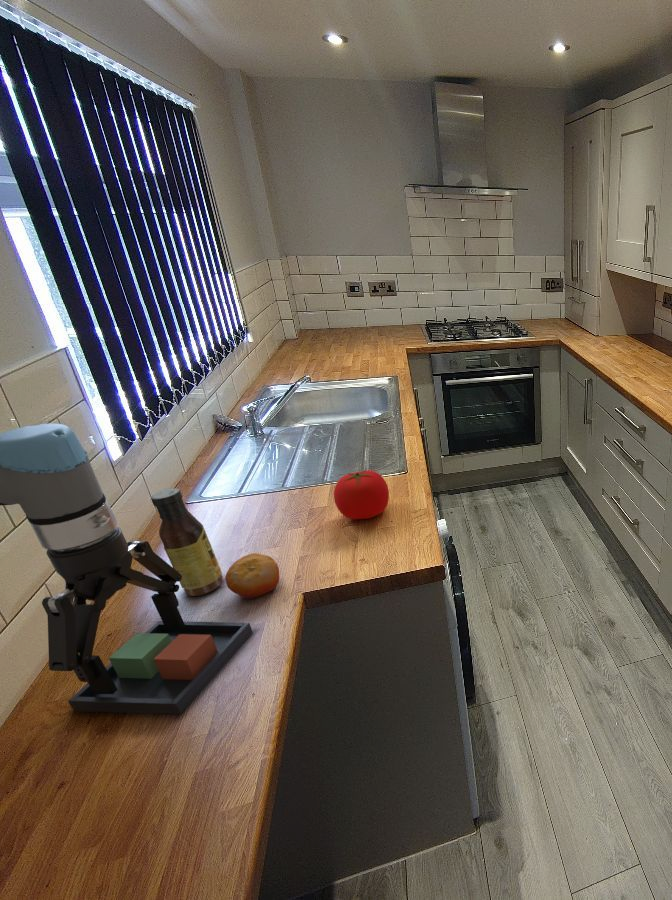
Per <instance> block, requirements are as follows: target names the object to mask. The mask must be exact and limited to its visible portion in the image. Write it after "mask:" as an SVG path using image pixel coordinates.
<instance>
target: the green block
mask: <svg viewBox="0 0 672 900" xmlns="http://www.w3.org/2000/svg"><path fill="white" fill-rule="evenodd" d="M171 642H172V641H171V639H170V636H169V634H154V633H145V632H137V633H136V634H135V635H134V636H132V637H131V638H130V639H129V640H127V641H126V642H125V643H124V644H123V645H121V647H120V648H118V649H117V650H116V651H115V652H114V653H113V654H112V655H110V656H109V657H108V660H109V662H110V663H111V664H112V665H113V667H114V669H115V671H116V673H117V675H118V676H119V678H143V679H152V678H153V677H154V676H155V675H156V674H157V673H158V672H159V670H158V668H157V666H156V664H155V662H154V660H153V659H154V658H155V657H156V656H157V655H158V654H159V653H160V652H161V651H163V650H164V649H165V648H166V647H167V646H168V645H169V644H170V643H171Z"/></svg>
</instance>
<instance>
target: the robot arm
mask: <svg viewBox="0 0 672 900" xmlns="http://www.w3.org/2000/svg"><path fill="white" fill-rule="evenodd" d="M14 505H19V506H20V507H21V509H22V511H23V512H24V514H25V517H26V519H27V521H28V522H29V524H30V526H31V528H32V530H33V532H34V535H35V536H36V538H37V539H38V541H39V544H40V546H41V547H42V548H43V549H45V550H46V556H47V557H48V559H49V561H50V563H51V564H52V566H53V569H54V571H55V572H56V573H57V574H58V575H59V576H60V577H61V578H63V580H64V582H65V589H64V590H63V591H61V592H60V593H58V594H56V595H55V596H46V597H44V598H43V599H42V601H41V605H42V607H43V609H44V611H45V613H46V616H47V643H48V644H47V645H48V668H49V669H48V670H50V671H52V672H74V674H75V676H76V677H77V679H78V680H79V681H80V682H82V683H87V684H88V683H89V685H90V687H91V689H92V690H93V692H94V694H114V693H115V692H116V691H117V688H116V686H115V684H114V682H113V680H112V679H111V677H110V675H109V673H108V671H107V669H106V665H105V664H104V663H103V660H102V659H101V657H100V655H93V652H94V647H95V642H96V637H97V631H98V627H99V622H100V617H101V612H102V611H103V610H104V609H105V608H106V604H107V601H108V600H110V599H111V598H113V596H114V595H115V594H116V593H117V592H118V591H121V590H122V589H124V588H125V587H127V584H130V585H133V586H136V587H139V588H141V589H145V590H147V591H151V592H154V593H153V595H151V596H150V599H151V600H152V602H153V604H154V606H155V609H156V611H157V613H158V615H159V617H160V621H162V622H163V624H164V626H165V628H166V629H182V628H183V627H185V624H184V622H183V621H184V619H183V617H182V615H181V613H180V611H179V608H178V607H179V605H180V604H179V603H180V602H179V600H178V598H177V594H176V593H177V592H178V591H180V585H179V584H177V582H179V581H180V580H181V579H182V575H181V574H180V573H179V572H177V571H176V570H175V569H174V568H173V567H172V565H170V564H169V563H168V562H167V561H165V560H164V559H163V558H162V557H160V556H159V555H158V554H157V553H156V552H154V550H153V548H152V547H151V544H150V542H149V541H148V540H146V541H145V540H129V541H128V542H127V539H126V538H125V535H124V533H123V531H122V530H121V528H120V527H118V521H117V518H116V517H115V515H114V512H113V510H112V507H111V506H110V503H109V501H108V499H107V497H106V495H105V493H104V492H103V490H102V487H101V485H100V483H99V481H98V478H97V476H96V474H95V471H94V468H93V467H92V464H91V461H90V458H89V454H88V452H87V451H86V449H85V448H84V447H83V445H82V443H81V442H80V440H79V438H78V437H77V435H76V433H75V432H74V431H73V429H72V428H71V427H69V426H67V425H65V424H63V423H54V422H53V423H52V422H51V423H40V424H37V425H36V424H35V425H25V426H21V427H17V428H13V429H10V430H7V431H4V432H2V433H1V432H0V506H14ZM133 560H135V562H137V563H139V564H140V565H141V566H142V567H143V568H145V569H146V570H147V571H149V572H150V574H153V575H154V576H155V577H156V578H155V577H153V576H151V575H148V574H145V573H144V572H142V571H139V570H136V569H133V568H132V563H133ZM87 601H91V602H93V603H87Z"/></svg>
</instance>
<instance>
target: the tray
mask: <svg viewBox="0 0 672 900" xmlns="http://www.w3.org/2000/svg"><path fill="white" fill-rule="evenodd" d="M183 622H184V624H185V627H183V628H182V629H166V628H165V626H164V624H163V622H162V620H158V621H156V622H155V623H154V624H153V625H152V626H150V628H149V629H148V630H146V631H145V632H144V633H154V634H169V636H170V639H171V641H173V640H174V639H175V638H176V637H177V636H178V635H179V634H196V635H211V636H212V639H213V641H214V643H215V646H216V648H217V651H218V653H217V654H216V655H215V656H214V657H213V658H212V659H211V661H210V662H209V663H208V664H207V665H206V666H205V667H204V668H203V669H202V670H201V671H200V672H199V674H198V675H197V676H196V677H195V678H194V679H193V680H176V679H163V678H162V676H161V674H160V672H158V673H157V674H156V675H155V676H154V677H153V678H152V679H143V678H119V676H118V675H117V673H116V671H115V669H114V667H113V665H112V664H111V662H110V663H108V665H107V666H105V668H106V669H107V671H108V673H109V675H110V677H111V679H112V680H113V682H114V684H115V686H116V688H117V691H116V692H115V693H114V694H94V692H93V690H92V689H91V687H90V685H89V683H88V682H87V683H86V684H85V685H84V686H83V687H82V688H81V689H79V690H78V691H77V692H76V693H75V694H73V695H72V697H70V698H69V699H67V702H68V704H69V706H70V707H71V709H72V711H73V712H77V713H78V712H80V713H81V712H82V713H110V714H111V713H115V714H144V715H145V714H149V715H150V714H152V715H178V716H179V715H182V714H183V713H184V712H185V711H186V709H187V708H188V707H189V706H190V705H191V704H192V703H193V701H194V700H195V699H196V698H197V697H198V696H199V695H200V694H201V692H203V690H204V689H205V688H206V687H207V686H208V684H209V683H210V682H212V680H213V679H214V678H215V676H217V674H218V673H219V672H220V671H221V670H222V669H223V667H225V665H226V664H227V663H228V662H229V661H230V659H231V658H233V656H234V655H235V654H236V653H237V652H238V651H239V649H240V648H241V647H242V646H243V645H244V643H245V642H246V641H247V640H248V639H249V638H250V637H251V636H252V634H253V633H254V631H253V629H252V626H251V623H250V622H229V621H225V622H224V621H185V620H183Z"/></svg>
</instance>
